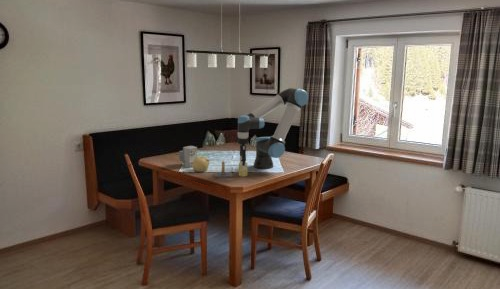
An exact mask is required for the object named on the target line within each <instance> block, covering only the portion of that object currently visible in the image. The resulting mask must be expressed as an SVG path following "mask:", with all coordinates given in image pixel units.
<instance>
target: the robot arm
mask: <svg viewBox="0 0 500 289" xmlns="http://www.w3.org/2000/svg"><path fill="white" fill-rule="evenodd" d="M308 101H309V96H308V92H307V91H306V90H304V89H302V88H292V87H290V88H287V89H284V90H282V91H281V92H279V93H277V94H276V95H275V97H274V98H272V99H270V100H269V101H267V102H266V103H264V104H262V105H261V106H259V107H258V108H256V109H254V110H253V111H251V112H250V113H248V114H247V115H246V114H244V115H239V116H238V117H237V118H238V119H237V133H236V135H237V144H239V163H242V166H241V170H245V167H246V163H247V162H246V161H247V153H246V152H247V150H246V149H247V146H246V145H248V144H249V131H250V130H252V129H253V130H254V129H255V130H256V129H258V130H259V129H263V128H264V127H265V119H264V118H263V117H265V116H267V115H268V114H270V113H271V112H273V111H274V110H276V109H278V108H280V107H283V106H285V105H286V108H285V109H284V112H283V114H282V116H281V118H280V121H279V123H278V124H277V126H276V129H275V131H274V134H273V135H271V136H260V137H256V138H255V159H254V162H253V167H254V168H255V169H260V170H261V169H262V170H266V169H268V170H269V169H272V168H274V161H273V159H274V158H275V159H279V158H281V157H282V156H283V155H284V153H285V152H286V147H285V145H286V141H285V139H286V137H287V134H288V133H289V130H290V128H291V126H292V124H293V122H294V119H295V118H296V116H297V113H298V112H299V111H300V110H301V109H302V107H303V106H305V105H306V104H307V103H308Z"/></svg>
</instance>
